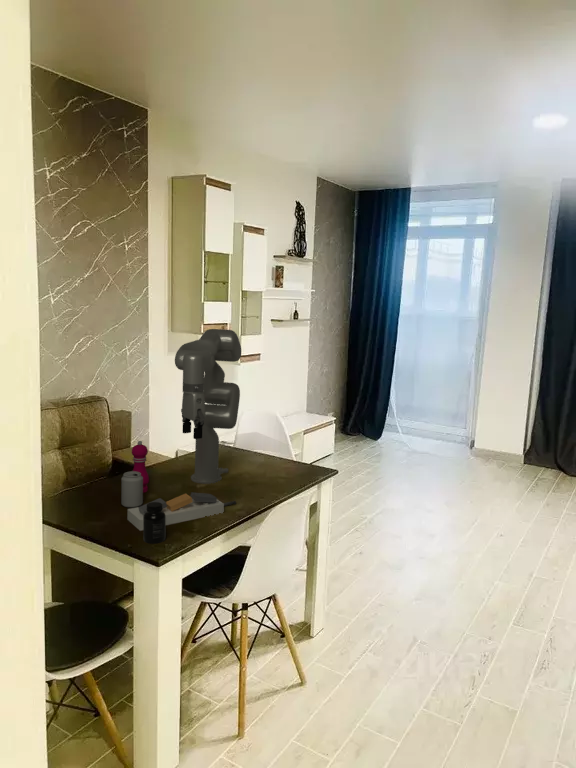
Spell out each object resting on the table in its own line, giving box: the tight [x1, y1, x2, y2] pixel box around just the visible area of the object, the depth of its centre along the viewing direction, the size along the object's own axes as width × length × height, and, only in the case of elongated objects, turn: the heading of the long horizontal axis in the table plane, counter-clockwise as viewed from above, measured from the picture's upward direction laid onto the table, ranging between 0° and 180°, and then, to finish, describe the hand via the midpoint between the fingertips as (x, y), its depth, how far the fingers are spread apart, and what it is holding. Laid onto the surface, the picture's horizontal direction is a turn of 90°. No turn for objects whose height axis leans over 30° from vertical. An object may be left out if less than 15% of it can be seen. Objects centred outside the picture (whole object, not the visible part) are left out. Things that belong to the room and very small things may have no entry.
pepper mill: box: [131, 440, 150, 494], centre depth 230 cm, size 7×7×20 cm
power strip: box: [126, 499, 237, 532], centre depth 210 cm, size 39×11×5 cm, turn 126°
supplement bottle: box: [142, 501, 167, 545], centre depth 187 cm, size 7×7×12 cm
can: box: [120, 470, 144, 509], centre depth 216 cm, size 8×8×12 cm
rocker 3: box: [189, 492, 218, 503], centre depth 211 cm, size 8×5×2 cm, turn 126°
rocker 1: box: [138, 497, 167, 515], centre depth 200 cm, size 8×5×2 cm, turn 126°
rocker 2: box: [165, 493, 193, 511], centre depth 206 cm, size 8×5×2 cm, turn 126°
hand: (192, 435), depth 217 cm, fingers open, 8 cm apart
